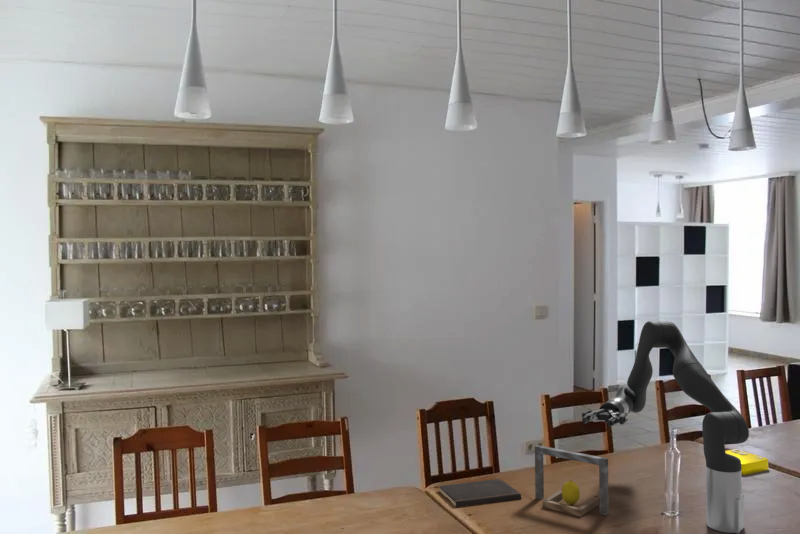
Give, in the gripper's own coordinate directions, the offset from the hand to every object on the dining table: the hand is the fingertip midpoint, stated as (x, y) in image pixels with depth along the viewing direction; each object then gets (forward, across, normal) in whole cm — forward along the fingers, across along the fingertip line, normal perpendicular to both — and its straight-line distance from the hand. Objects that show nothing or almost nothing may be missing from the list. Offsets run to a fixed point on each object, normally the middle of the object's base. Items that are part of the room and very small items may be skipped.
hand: (596, 422), depth 215 cm
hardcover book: (+24, -33, +22) cm, 46 cm away
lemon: (+15, -4, +24) cm, 28 cm away
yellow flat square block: (-59, +29, +30) cm, 72 cm away
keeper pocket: (+15, -4, +23) cm, 28 cm away
